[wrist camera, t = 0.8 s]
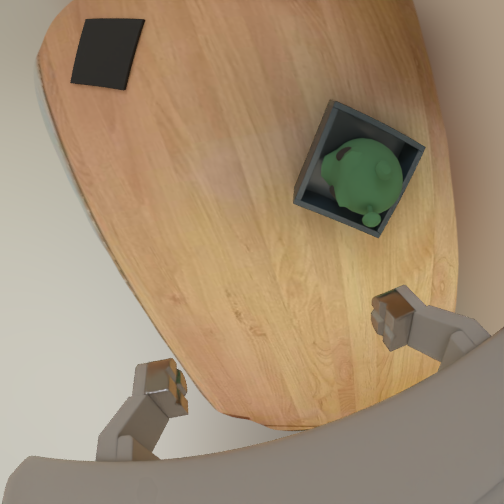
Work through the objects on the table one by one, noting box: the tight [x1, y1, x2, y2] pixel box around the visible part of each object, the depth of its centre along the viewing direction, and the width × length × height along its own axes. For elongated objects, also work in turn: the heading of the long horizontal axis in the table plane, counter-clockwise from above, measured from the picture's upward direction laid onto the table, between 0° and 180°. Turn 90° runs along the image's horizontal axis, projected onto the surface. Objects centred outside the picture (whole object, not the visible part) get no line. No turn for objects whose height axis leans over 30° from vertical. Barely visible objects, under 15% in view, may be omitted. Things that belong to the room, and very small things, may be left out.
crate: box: [293, 100, 425, 238], centre depth 27 cm, size 11×10×4 cm
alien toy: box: [321, 138, 403, 227], centre depth 24 cm, size 7×8×10 cm
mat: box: [70, 19, 145, 90], centre depth 25 cm, size 9×9×1 cm
